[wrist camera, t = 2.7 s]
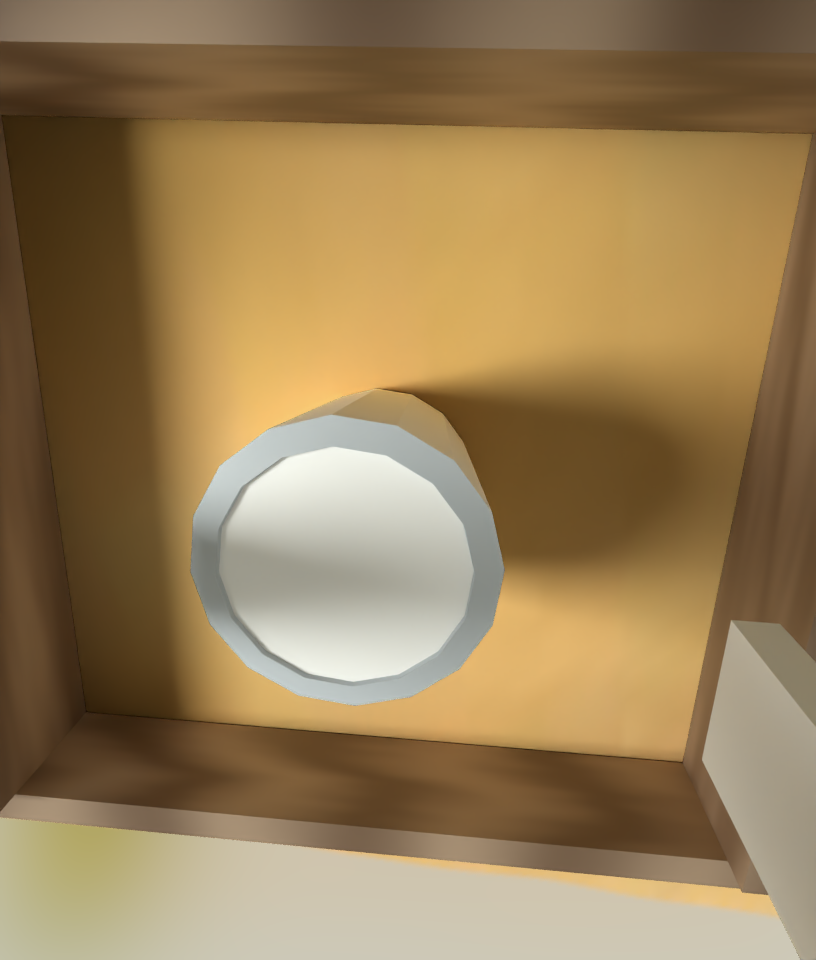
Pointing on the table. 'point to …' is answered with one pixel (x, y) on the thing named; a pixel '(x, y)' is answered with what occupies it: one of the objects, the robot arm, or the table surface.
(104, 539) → the table surface
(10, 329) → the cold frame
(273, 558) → the shot glass
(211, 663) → the table surface
